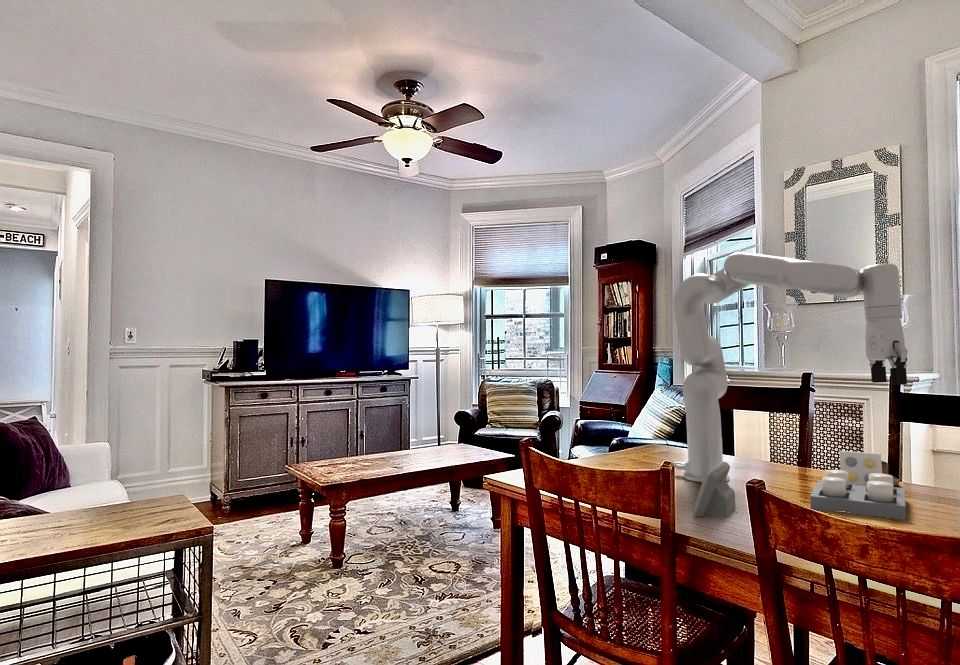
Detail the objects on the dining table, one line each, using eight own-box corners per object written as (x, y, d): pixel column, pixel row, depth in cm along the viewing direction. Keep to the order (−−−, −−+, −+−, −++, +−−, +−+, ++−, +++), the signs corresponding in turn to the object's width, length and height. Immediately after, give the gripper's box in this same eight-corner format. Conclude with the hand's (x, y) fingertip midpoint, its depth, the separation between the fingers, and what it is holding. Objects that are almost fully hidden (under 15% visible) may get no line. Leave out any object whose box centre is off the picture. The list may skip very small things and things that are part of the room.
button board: (810, 508, 135) (810, 496, 135) (819, 491, 150) (818, 480, 150) (905, 520, 124) (905, 506, 125) (905, 500, 139) (904, 488, 139)
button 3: (867, 500, 130) (866, 484, 130) (868, 495, 134) (867, 480, 134) (893, 502, 127) (892, 486, 128) (893, 497, 131) (892, 482, 131)
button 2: (825, 486, 143) (824, 472, 143) (827, 482, 147) (826, 469, 147) (848, 489, 140) (847, 474, 140) (849, 484, 144) (848, 470, 144)
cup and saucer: (909, 491, 148) (908, 467, 148) (857, 490, 151) (856, 466, 151) (886, 480, 160) (885, 457, 160) (839, 479, 162) (837, 457, 162)
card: (838, 490, 150) (836, 452, 150) (839, 488, 153) (837, 450, 153) (885, 495, 144) (883, 455, 144) (885, 492, 147) (883, 453, 147)
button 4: (868, 491, 138) (868, 476, 138) (869, 486, 141) (869, 472, 142) (893, 493, 135) (892, 478, 135) (893, 489, 139) (893, 474, 139)
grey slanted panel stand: (711, 500, 145) (709, 458, 146) (747, 507, 139) (745, 463, 139) (679, 515, 134) (677, 469, 134) (717, 523, 128) (715, 474, 128)
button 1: (821, 495, 136) (820, 480, 136) (823, 490, 140) (822, 476, 140) (845, 497, 133) (844, 482, 133) (846, 493, 137) (846, 478, 137)
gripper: (851, 317, 151) (856, 382, 151) (883, 313, 134) (889, 386, 134) (883, 315, 150) (888, 381, 149) (919, 311, 133) (926, 385, 132)
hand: (888, 383), depth 141 cm, fingers open, 9 cm apart
